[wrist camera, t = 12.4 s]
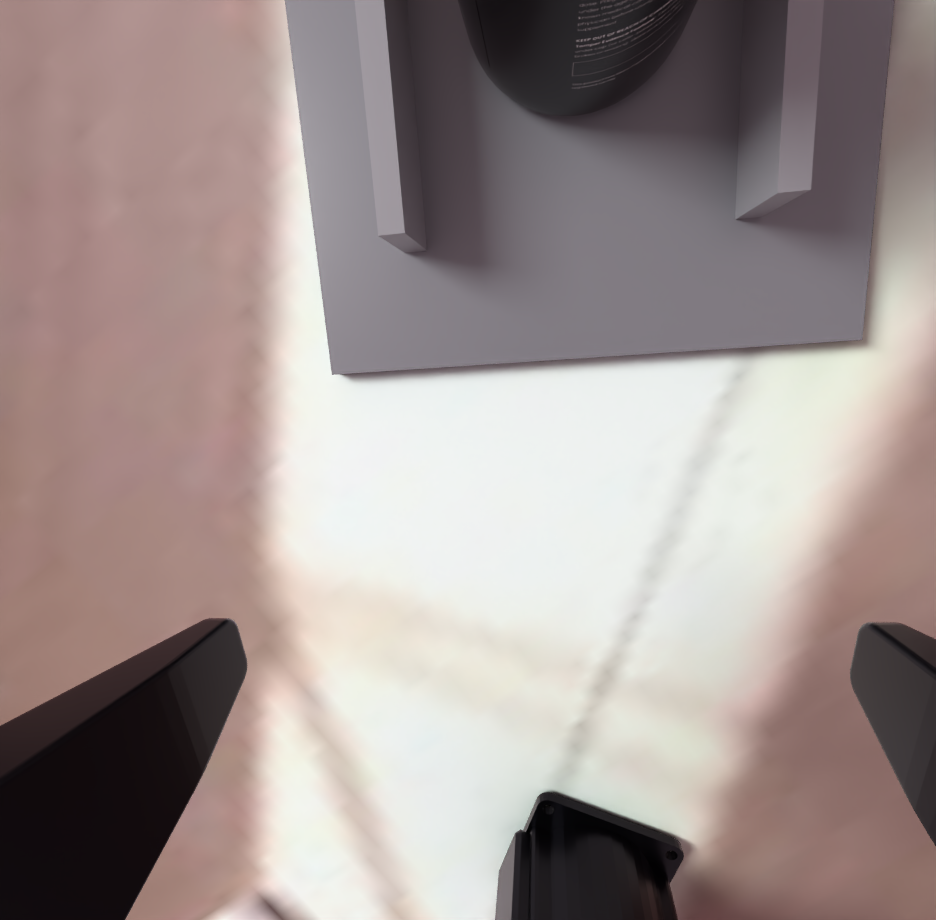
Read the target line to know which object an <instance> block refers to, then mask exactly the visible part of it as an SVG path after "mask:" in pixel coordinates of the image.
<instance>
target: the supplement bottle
mask: <svg viewBox="0 0 936 920" xmlns="http://www.w3.org/2000/svg"><path fill="white" fill-rule="evenodd" d="M697 1H698V0H458V3H459V7H460V11H461V14H462V18H463V21H464V24H465V28H466V31H467V34H468V37H469V41H470V44H471V46H472V48H473V51H474V53H475V55H476V58H477V60H478V61H479V63H480V65H481V67H482V69H483V70H484V72H485V73H486V74H487V76H488V77H489V79H490V80H491V81H492V82H493V83H494V84H495V86H496V87H497V88H499V89H500V90H501V91H502V92H503V93H504V94H505V95H506V96H508V97H509V98H510V99H512V100H513V101H515V102H516V103H518V104H520V105H521V106H523V107H526V108H528V109H530V110H533V111H536V112H539V113H542V114H547V115H553V116H577V115H584V114H589V113H593V112H596V111H599V110H602V109H605V108H607V107H609V106H611V105H614V104H616V103H617V102H619V101H621V100H623V99H624V98H626V97H627V96H629V95H630V94H632V93H633V92H634V91H636V90H637V89H638V88H640V87H641V86H642V85H643V84H644V83H645V82H647V81H648V80H649V79H650V78H651V77H652V76H653V75H654V74H655V73H656V71H657V70H658V69H659V68H660V67H661V65H662V64H663V63H664V62H665V60H666V59H667V57H668V56H669V55H670V53H671V52H672V50H673V48H674V47H675V45H676V43H677V42H678V40H679V38H680V37H681V35H682V33H683V31H684V29H685V27H686V25H687V23H688V20H689V18H690V16H691V14H692V12H693V9H694V7H695V5H696V3H697Z"/></svg>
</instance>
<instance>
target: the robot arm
mask: <svg viewBox="0 0 936 920" xmlns="http://www.w3.org/2000/svg"><path fill="white" fill-rule="evenodd" d="M246 672H247V658H246V655H245V651H244V648H243V644H242V640H241V637H240V633H239V630H238V626H237V624H236V623H235V621H233V620H232V619H229V618H209V619H205V620H203V621H201V622H199V623H197V624H195V625H193V626H191V627H189V628H187V629H185V630H183V631H181V632H180V633H178V634H176V635H174V636H172V637H170V638H168V639H166V640H164V641H162V642H160V643H158V644H157V645H155V646H153V647H151V648H149V649H147V650H145V651H143V652H141V653H139V654H137V655H135V656H133V657H132V658H130V659H128V660H126V661H124V662H122V663H120V664H118V665H116V666H114V667H112V668H110V669H108V670H107V671H105V672H103V673H101V674H99V675H97V676H95V677H93V678H91V679H89V680H87V681H85V682H83V683H82V684H80V685H78V686H76V687H74V688H72V689H70V690H68V691H66V692H64V693H62V694H60V695H59V696H57V697H55V698H53V699H51V700H49V701H47V702H45V703H43V704H41V705H39V706H37V707H35V708H34V709H32V710H30V711H28V712H26V713H24V714H22V715H20V716H18V717H16V718H14V719H12V720H10V721H9V722H7V723H5V724H3V725H1V726H0V920H125V919H126V917H127V916H128V914H129V912H130V910H131V908H132V906H133V904H134V903H135V901H136V899H137V897H138V895H139V893H140V891H141V890H142V888H143V886H144V884H145V882H146V880H147V878H148V877H149V875H150V873H151V871H152V869H153V867H154V865H155V863H156V862H157V860H158V858H159V856H160V854H161V852H162V850H163V849H164V847H165V845H166V843H167V841H168V839H169V837H170V836H171V834H172V832H173V830H174V828H175V826H176V824H177V823H178V821H179V819H180V817H181V815H182V813H183V811H184V810H185V808H186V806H187V804H188V802H189V800H190V798H191V797H192V795H193V793H194V791H195V789H196V787H197V785H198V783H199V781H200V779H201V777H202V775H203V773H204V771H205V769H206V767H207V764H208V762H209V760H210V758H211V756H212V753H213V751H214V749H215V746H216V744H217V742H218V739H219V737H220V735H221V732H222V730H223V728H224V725H225V723H226V721H227V718H228V716H229V714H230V711H231V709H232V707H233V704H234V702H235V700H236V697H237V695H238V693H239V690H240V688H241V686H242V683H243V681H244V679H245V676H246ZM850 679H851V684H852V687H853V690H854V692H855V694H856V696H857V698H858V700H859V702H860V704H861V706H862V708H863V710H864V712H865V714H866V716H867V718H868V720H869V722H870V724H871V726H872V728H873V730H874V732H875V734H876V736H877V738H878V740H879V742H880V744H881V746H882V748H883V750H884V752H885V754H886V756H887V758H888V760H889V762H890V764H891V766H892V768H893V770H894V772H895V774H896V776H897V778H898V780H899V782H900V784H901V786H902V788H903V790H904V792H905V794H906V796H907V798H908V800H909V802H910V803H911V805H912V807H913V809H914V811H915V813H916V814H917V816H918V818H919V819H920V821H921V823H922V824H923V826H924V828H925V829H926V831H927V833H928V834H929V836H930V838H931V839H932V841H933V842H934V844H935V846H936V639H934V638H932V637H929V636H927V635H925V634H923V633H921V632H919V631H917V630H915V629H912V628H910V627H908V626H906V625H904V624H901V623H896V622H868V623H865V624H863V625H862V626H861V628H860V629H859V632H858V636H857V641H856V645H855V650H854V655H853V660H852V664H851V669H850ZM545 805H551V806H545ZM670 850H671V851H670ZM683 857H684V855H683V851H682V848H681V844H680V843H679V841H678V840H676V839H674V838H672V837H669V836H667V835H664V834H661V833H659V832H656V831H653V830H651V829H648V828H645V827H642V826H640V825H637V824H634V823H632V822H629V821H626V820H623V819H621V818H618V817H615V816H613V815H610V814H607V813H605V812H602V811H599V810H596V809H594V808H591V807H588V806H586V805H583V804H580V803H578V802H575V801H572V800H569V799H567V798H564V797H561V796H559V795H556V794H553V793H549V792H545V793H542V794H540V795H539V796H538V797H537V800H536V802H535V804H534V807H533V809H532V811H531V814H530V816H529V818H528V821H527V823H526V825H525V828H524V830H519V831H518V832H516V833H515V835H514V837H513V840H512V842H511V844H510V847H509V849H508V851H507V854H506V856H505V858H504V861H503V863H502V865H501V868H500V870H499V878H498V890H497V903H496V916H495V920H678V918H677V914H676V910H675V905H674V901H673V897H672V893H671V888H670V882H671V880H672V879H673V877H674V875H675V873H676V871H677V869H678V868H679V866H680V864H681V862H682V860H683Z"/></svg>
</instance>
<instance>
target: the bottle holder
mask: <svg viewBox="0 0 936 920" xmlns="http://www.w3.org/2000/svg"><path fill="white" fill-rule="evenodd" d="M285 5H286V13H287V21H288V29H289V37H290V45H291V53H292V61H293V69H294V76H295V84H296V92H297V100H298V108H299V116H300V124H301V132H302V140H303V148H304V156H305V164H306V172H307V180H308V188H309V196H310V203H311V211H312V219H313V227H314V235H315V243H316V251H317V259H318V267H319V275H320V283H321V291H322V299H323V307H324V315H325V323H326V330H327V338H328V346H329V354H330V362H331V370H332V375H334V374H350V373H365V372H380V371H395V370H410V369H426V368H441V367H456V366H471V365H486V364H501V363H517V362H532V361H547V360H562V359H577V358H593V357H608V356H623V355H638V354H653V353H669V352H684V351H699V350H714V349H729V348H745V347H760V346H775V345H790V344H805V343H821V342H836V341H851V340H862V337H863V326H864V316H865V305H866V295H867V284H868V274H869V263H870V253H871V242H872V231H873V221H874V210H875V200H876V189H877V179H878V168H879V158H880V147H881V137H882V126H883V116H884V105H885V94H886V84H887V73H888V63H889V52H890V42H891V31H892V21H893V10H894V0H698V1H697V3H696V5H695V7H694V9H693V12H692V14H691V16H690V18H689V20H688V23H687V25H686V27H685V29H684V31H683V33H682V35H681V37H680V38H679V40H678V42H677V43H676V45H675V47H674V48H673V50H672V52H671V53H670V55H669V56H668V57H667V59H666V60H665V62H664V63H663V64H662V65H661V67H660V68H659V69H658V70H657V71H656V73H655V74H654V75H653V76H652V77H651V78H650V79H649V80H648V81H647V82H645V83H644V84H643V85H642V86H641V87H640V88H638V89H637V90H636V91H634V92H633V93H632V94H630V95H629V96H627V97H626V98H624V99H623V100H621V101H619V102H617V103H616V104H614V105H611V106H609V107H607V108H605V109H602V110H599V111H596V112H593V113H589V114H584V115H577V116H553V115H547V114H542V113H539V112H536V111H533V110H530V109H528V108H526V107H523V106H521V105H520V104H518V103H516V102H515V101H513V100H512V99H510V98H509V97H508V96H506V95H505V94H504V93H503V92H502V91H501V90H500V89H499V88H497V87H496V86H495V84H494V83H493V82H492V81H491V80H490V79H489V77H488V76H487V74H486V73H485V72H484V70H483V69H482V67H481V65H480V63H479V61H478V60H477V58H476V55H475V53H474V51H473V48H472V46H471V44H470V41H469V37H468V34H467V31H466V28H465V24H464V21H463V18H462V14H461V11H460V7H459V3H458V0H285Z"/></svg>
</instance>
